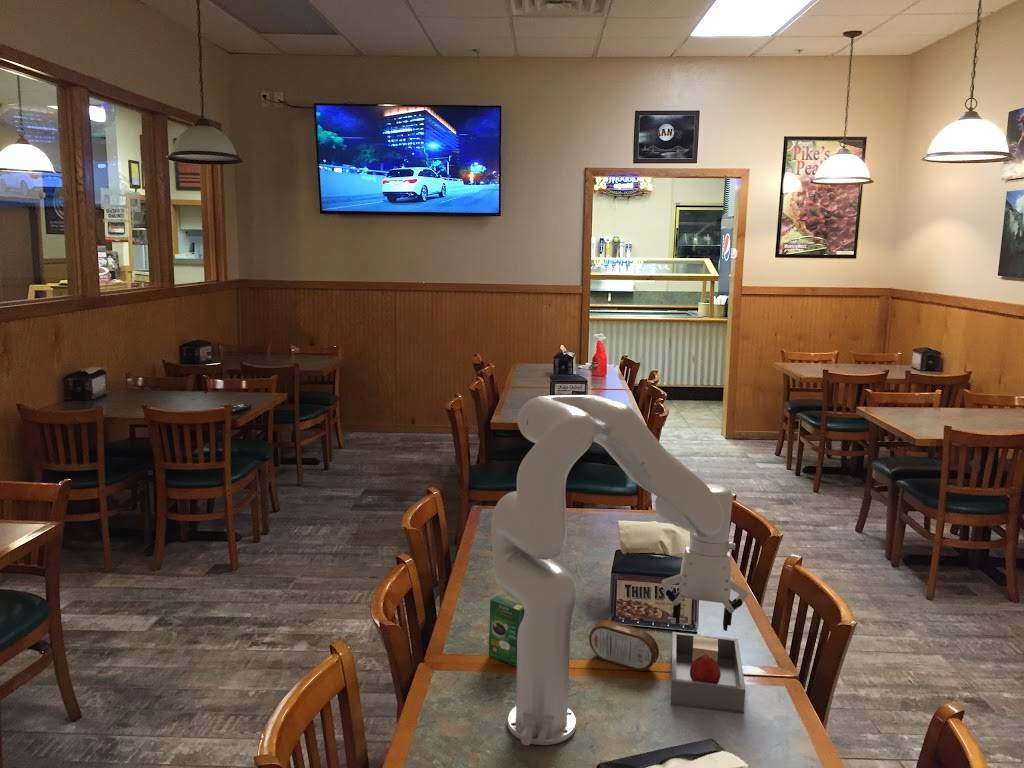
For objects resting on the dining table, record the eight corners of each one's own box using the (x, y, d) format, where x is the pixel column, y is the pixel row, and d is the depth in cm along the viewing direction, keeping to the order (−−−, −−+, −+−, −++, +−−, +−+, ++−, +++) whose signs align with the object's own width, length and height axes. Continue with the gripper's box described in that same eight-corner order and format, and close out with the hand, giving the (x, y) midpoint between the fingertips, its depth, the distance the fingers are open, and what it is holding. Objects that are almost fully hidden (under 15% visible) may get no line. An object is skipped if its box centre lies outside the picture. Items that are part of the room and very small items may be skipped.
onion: (683, 689, 157) (685, 652, 156) (699, 678, 161) (701, 642, 160) (709, 702, 153) (711, 664, 152) (724, 690, 157) (727, 653, 156)
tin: (658, 670, 166) (660, 633, 164) (653, 677, 163) (655, 639, 161) (592, 650, 173) (594, 614, 172) (586, 657, 170) (587, 620, 169)
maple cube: (716, 673, 163) (718, 651, 163) (691, 669, 165) (692, 647, 164) (716, 661, 168) (717, 639, 167) (692, 657, 169) (693, 636, 168)
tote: (743, 713, 151) (745, 689, 150) (670, 704, 153) (671, 680, 152) (736, 660, 170) (737, 639, 169) (671, 653, 172) (672, 631, 171)
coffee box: (526, 662, 168) (527, 604, 165) (518, 668, 165) (519, 610, 163) (496, 650, 172) (496, 594, 170) (487, 656, 170) (488, 599, 168)
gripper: (751, 544, 163) (742, 622, 166) (665, 534, 167) (659, 611, 170) (754, 557, 156) (745, 638, 159) (665, 546, 160) (658, 626, 162)
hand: (701, 624), depth 164 cm, fingers open, 9 cm apart
